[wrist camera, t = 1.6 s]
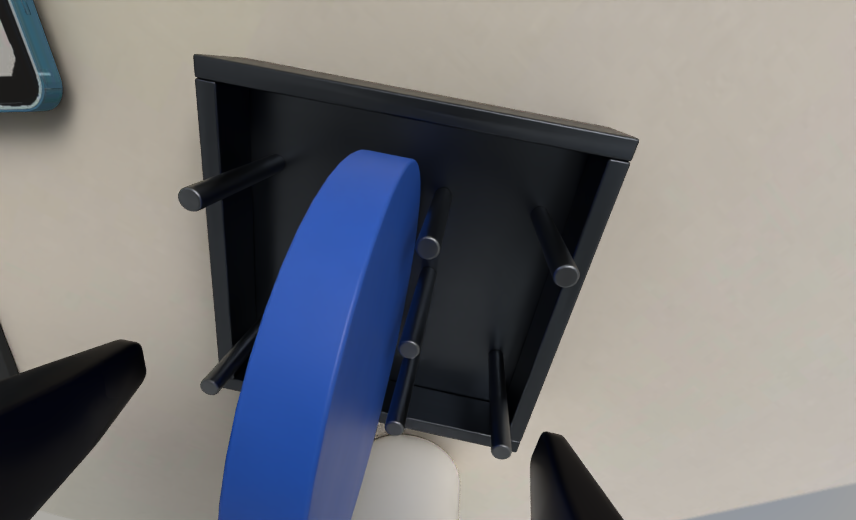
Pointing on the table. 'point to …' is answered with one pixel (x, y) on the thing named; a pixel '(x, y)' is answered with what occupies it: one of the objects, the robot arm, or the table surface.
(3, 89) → the smartphone
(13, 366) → the mat
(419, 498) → the drinking glass
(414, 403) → the rack
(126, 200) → the table surface
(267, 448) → the plate
